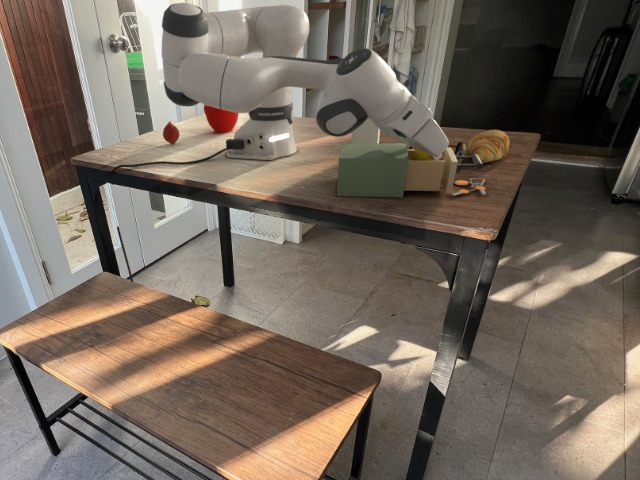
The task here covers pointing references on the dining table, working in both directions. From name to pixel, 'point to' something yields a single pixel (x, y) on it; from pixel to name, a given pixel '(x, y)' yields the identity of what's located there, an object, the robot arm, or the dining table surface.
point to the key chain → (474, 185)
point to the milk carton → (366, 133)
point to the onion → (171, 133)
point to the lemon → (421, 155)
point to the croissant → (489, 145)
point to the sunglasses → (458, 152)
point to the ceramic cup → (220, 119)
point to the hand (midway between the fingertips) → (429, 153)
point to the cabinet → (372, 170)
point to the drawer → (435, 171)
